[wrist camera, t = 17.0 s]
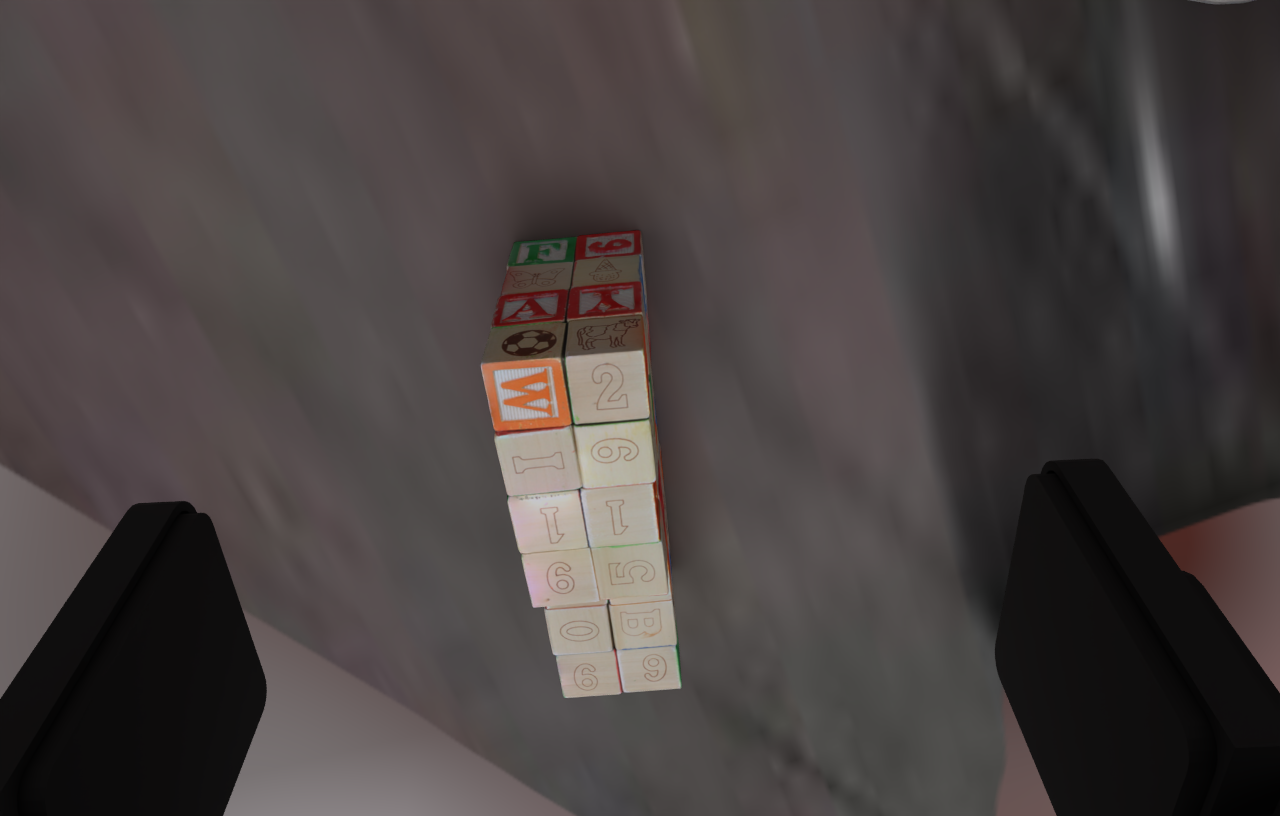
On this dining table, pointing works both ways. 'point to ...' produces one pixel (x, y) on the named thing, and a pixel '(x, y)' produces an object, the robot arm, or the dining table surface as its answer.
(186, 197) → the dining table surface
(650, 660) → the stack of blocks
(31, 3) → the dining table surface
